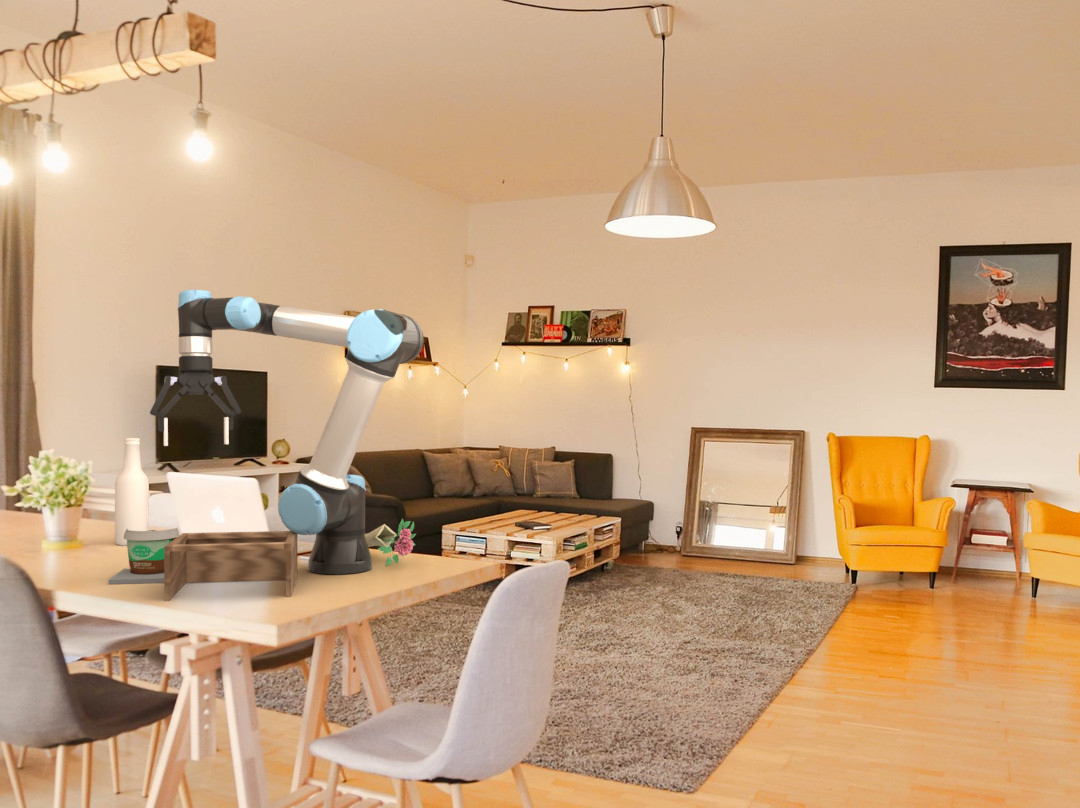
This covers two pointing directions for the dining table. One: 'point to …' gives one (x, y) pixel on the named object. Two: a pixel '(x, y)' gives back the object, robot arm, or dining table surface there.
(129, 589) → the dining table surface
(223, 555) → the access cubby
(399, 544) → the flower vase
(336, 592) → the dining table surface
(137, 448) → the alcohol
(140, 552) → the food container
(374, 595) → the dining table surface
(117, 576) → the mat
